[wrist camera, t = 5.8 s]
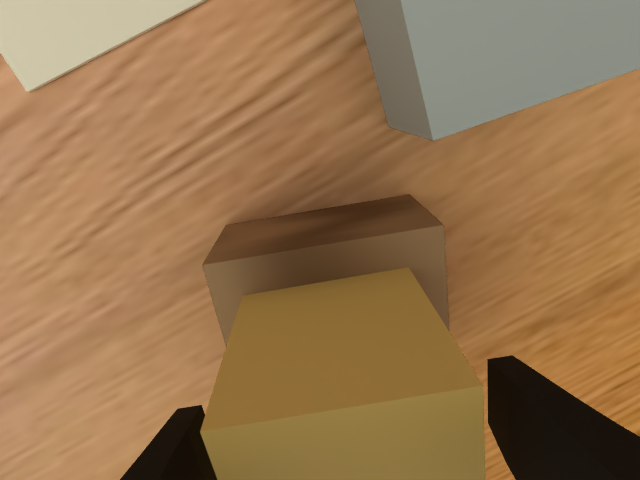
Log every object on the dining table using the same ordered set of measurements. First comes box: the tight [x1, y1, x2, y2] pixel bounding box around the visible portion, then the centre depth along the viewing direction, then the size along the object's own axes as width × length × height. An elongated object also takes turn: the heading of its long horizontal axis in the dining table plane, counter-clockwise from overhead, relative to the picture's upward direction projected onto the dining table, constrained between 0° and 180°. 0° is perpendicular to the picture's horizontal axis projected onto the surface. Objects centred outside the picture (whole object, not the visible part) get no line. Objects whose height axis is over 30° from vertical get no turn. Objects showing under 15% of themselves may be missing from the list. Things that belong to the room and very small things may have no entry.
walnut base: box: [202, 194, 449, 347], centre depth 14 cm, size 7×7×4 cm
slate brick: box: [355, 0, 640, 141], centre depth 10 cm, size 5×5×5 cm
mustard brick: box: [200, 267, 485, 480], centre depth 10 cm, size 5×5×5 cm
